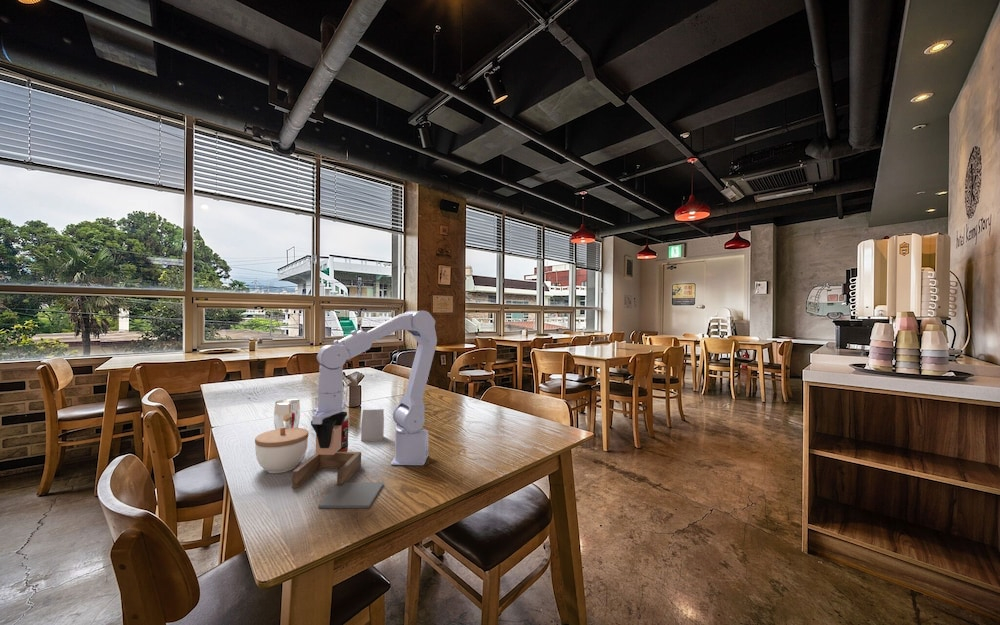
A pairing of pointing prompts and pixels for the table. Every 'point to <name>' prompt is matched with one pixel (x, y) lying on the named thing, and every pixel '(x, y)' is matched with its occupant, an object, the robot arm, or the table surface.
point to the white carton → (287, 413)
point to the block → (334, 444)
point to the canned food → (344, 436)
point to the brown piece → (328, 466)
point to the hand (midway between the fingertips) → (329, 444)
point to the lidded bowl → (281, 449)
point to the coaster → (352, 495)
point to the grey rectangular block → (372, 425)
